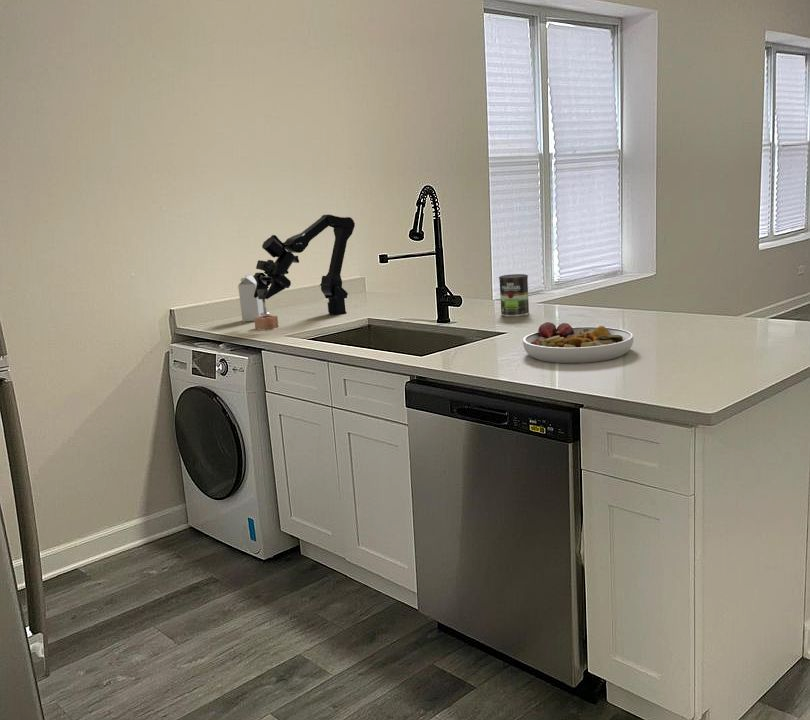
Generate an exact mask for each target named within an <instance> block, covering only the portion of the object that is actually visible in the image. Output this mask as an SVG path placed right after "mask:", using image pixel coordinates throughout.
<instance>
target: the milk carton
mask: <svg viewBox="0 0 810 720" xmlns="http://www.w3.org/2000/svg"><path fill="white" fill-rule="evenodd" d="M256 285H257V282H256V280H255V278H253V275H252V274H251V272H249V273H246V274H245V276H243V277H241V278H240V283H239V284H238V288H237V289H238V296H239V303H240V304H239V305H240V311H241V321H242V323H243V322H246V321H247V322H254V317H259V316H262V315H260V313H264V310H263V301H262V299H258V297H257V298H255V297H254V293H255V289H256ZM263 316H265V315H263Z"/></svg>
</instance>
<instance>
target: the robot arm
mask: <svg viewBox="0 0 810 720" xmlns="http://www.w3.org/2000/svg"><path fill="white" fill-rule="evenodd" d="M355 226H356V225H355V221H354V219H353V218H352V217H350V216H345V217H343V216H336V215H332V214H323V215H321V217H320V218H319V219H317V220H316V221H315V222H313V223H312V224H310V225H309V226H308V227H307V228H306V229H304V230H303V231H302V232H299V233H298V234H297V233H296V234H294V235H291V237H289V238H287V239H286V240H285V241H284V242H282V240H280V239H279V238H278V236H277V235H275V234H272V235H271V236H270V237H268V238H267V239H266V240H265V241H263V242H262V245H261V247H262V249H263V250H265V252H267V254H269V255H270V257H272V258H276V260H275V261H274V260H272V259H267V260H259V259H258V260H257V264H256V267H255V269H257V270H260V271H262V272H255V273H254V275H252V277H253V278H255V280H256V282H257V285H256V289H255V293H254V297H255V298H257V297H258V293H257V289H262V288H268V292H267V294H266V296H265V298H266V299H265V300H268V299H270V298H271V297H273V296H275V295H276V294H278V293H280V292H282V291H284V290H286V289H289V288H290V286H291V285H292V283H291V282H292V280H290V279H289V278H287V276H286V275H288V274H289V273H290V271H289V269H290V268H291V266H292V264H293V263H295V264H299V263H300V259H299V255H295V254H301V253H302V252H304V251H305V250H306V249H307V248H308V246H309V244H310V242H312V240H313V239H315V238H316V237H317V236H319V235H320V234H321V233H322V232H323V231H324V230H325V229H327V228H328V227H330V228H333V234H334V237H335V238H334V243H333V248H332V252H331V258H330V263H329V266H328V267H329V268H328V272H327V273H326V275H322V276H321V280H320V281H321V283H320V284H319V287H320V291H321V292H322V294H323V295H324V297H325V299H326V300H327V302H326V303H327V312H328V314H329V315H330V316H332V314H334V315H341V314H340V313H344V314H347V311H346V302H345V299H347V298H348V295H349V293H348V291H347V290H345V289H344V288H343V280H342V276H341V273H342V268H343V267H342V266H343V263H344V259H345V253H346V248H347V243H348V240H349V239H350V237H351V236H352V235H353V232H354V229H355Z"/></svg>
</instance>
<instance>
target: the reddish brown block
mask: <svg viewBox="0 0 810 720" xmlns="http://www.w3.org/2000/svg"><path fill="white" fill-rule="evenodd" d="M278 318H279V317H278V315H272V314H270V315H264V316H259V317H254V321H253V322H254V328H255V329H257V328H258V329H257V330H263V329H265V330H269V328H270V329H274V327H275V328H278V327H279V320H278Z"/></svg>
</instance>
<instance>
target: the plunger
mask: <svg viewBox="0 0 810 720" xmlns="http://www.w3.org/2000/svg"><path fill="white" fill-rule="evenodd" d="M268 290H269V288H262V289H257V293H258V299H262V305H263V313H260V315H262V316H263V315H264V316H265V315H271V312H270V311H267V306H266V300H267V299H266V298H265V296H266V294H267V292H268Z"/></svg>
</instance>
